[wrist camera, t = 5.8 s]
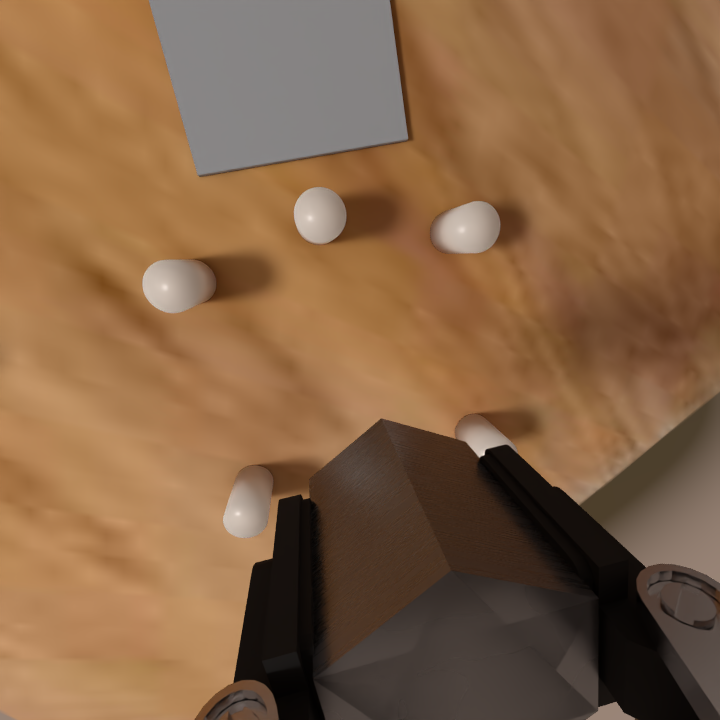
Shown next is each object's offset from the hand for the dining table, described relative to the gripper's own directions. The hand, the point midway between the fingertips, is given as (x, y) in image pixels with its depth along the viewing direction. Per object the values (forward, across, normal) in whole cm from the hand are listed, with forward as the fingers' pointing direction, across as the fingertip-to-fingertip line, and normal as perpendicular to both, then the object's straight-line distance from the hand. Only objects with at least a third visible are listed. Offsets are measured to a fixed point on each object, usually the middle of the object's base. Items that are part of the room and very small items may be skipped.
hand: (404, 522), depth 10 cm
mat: (+16, 0, -16) cm, 23 cm away
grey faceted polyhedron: (+1, 0, 0) cm, 1 cm away
